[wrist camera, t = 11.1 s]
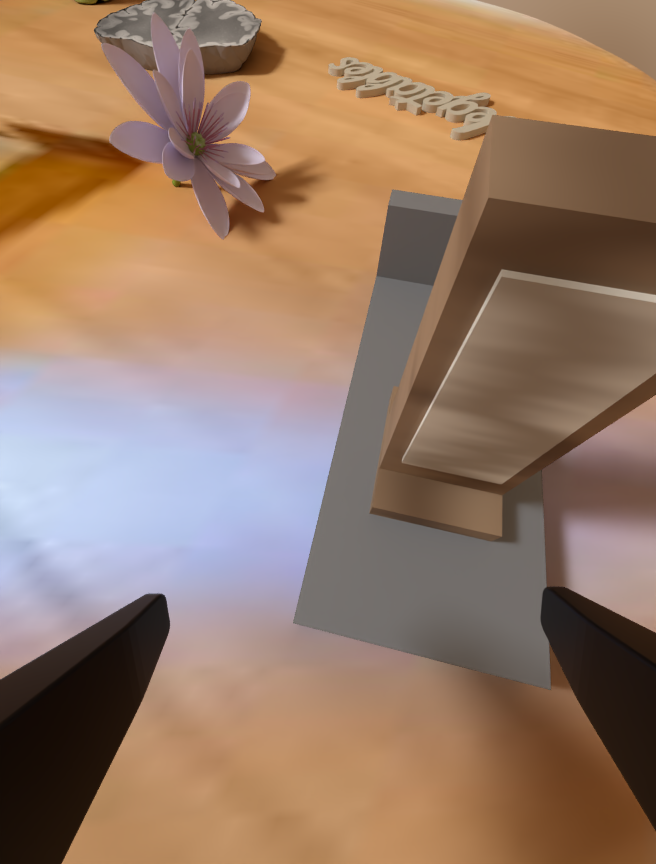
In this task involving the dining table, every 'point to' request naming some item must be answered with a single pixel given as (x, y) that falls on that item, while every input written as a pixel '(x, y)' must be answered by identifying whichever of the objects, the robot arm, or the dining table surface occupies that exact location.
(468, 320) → the brown upright panelled block
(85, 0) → the plant pot
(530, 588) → the grey l-shaped bracket
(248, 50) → the brain slice
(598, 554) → the dining table surface
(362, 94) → the decorative sign
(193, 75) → the water lily
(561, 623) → the robot arm
